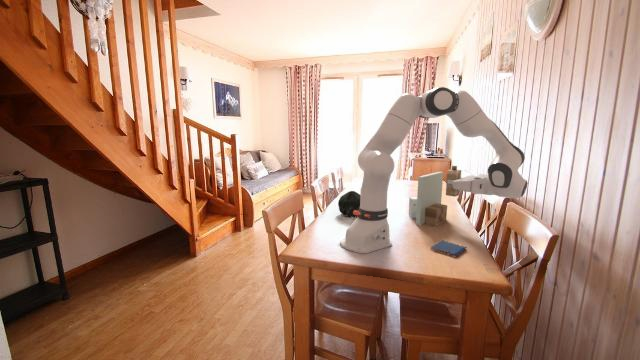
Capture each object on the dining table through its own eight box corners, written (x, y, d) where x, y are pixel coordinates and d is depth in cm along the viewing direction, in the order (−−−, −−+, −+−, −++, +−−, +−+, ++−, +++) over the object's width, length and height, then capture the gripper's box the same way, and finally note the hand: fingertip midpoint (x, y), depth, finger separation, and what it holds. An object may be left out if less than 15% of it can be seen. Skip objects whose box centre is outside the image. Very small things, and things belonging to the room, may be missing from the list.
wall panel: (419, 225, 143) (422, 177, 139) (415, 224, 145) (418, 176, 140) (440, 215, 158) (443, 172, 153) (436, 215, 159) (439, 171, 155)
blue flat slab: (441, 243, 123) (441, 239, 122) (467, 251, 115) (467, 246, 115) (428, 250, 116) (429, 246, 115) (455, 259, 108) (456, 254, 108)
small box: (423, 215, 159) (424, 196, 157) (426, 218, 154) (427, 199, 152) (408, 215, 160) (409, 196, 158) (410, 218, 155) (411, 198, 153)
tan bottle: (454, 196, 136) (456, 167, 134) (445, 195, 140) (446, 166, 137) (459, 194, 140) (461, 165, 138) (450, 193, 143) (452, 165, 141)
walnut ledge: (435, 225, 142) (436, 210, 141) (424, 223, 146) (425, 207, 145) (446, 220, 150) (447, 205, 149) (435, 217, 154) (436, 203, 153)
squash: (352, 200, 171) (342, 183, 162) (373, 205, 161) (364, 188, 152) (340, 219, 166) (328, 203, 157) (361, 226, 156) (350, 210, 146)
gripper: (491, 174, 136) (460, 171, 146) (474, 180, 122) (442, 176, 132) (490, 187, 137) (460, 183, 147) (473, 195, 123) (441, 190, 133)
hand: (451, 180), depth 139 cm, fingers closed on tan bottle, 6 cm apart
